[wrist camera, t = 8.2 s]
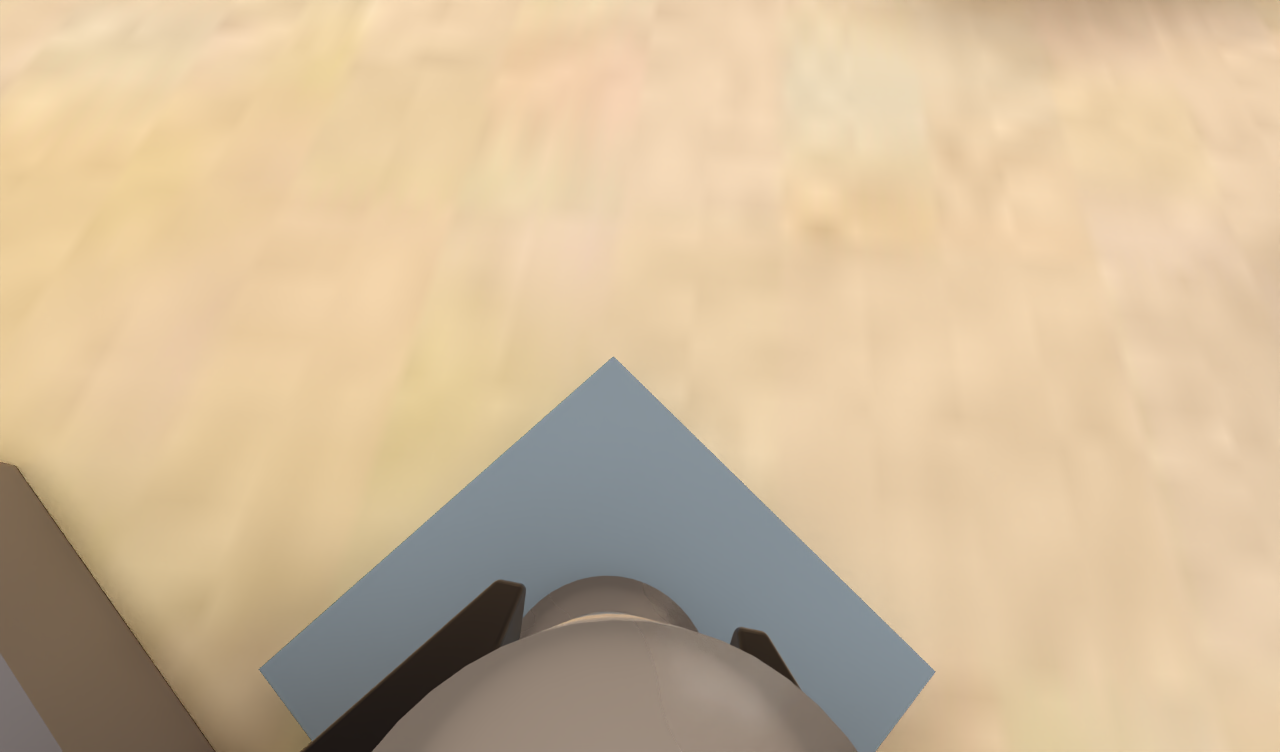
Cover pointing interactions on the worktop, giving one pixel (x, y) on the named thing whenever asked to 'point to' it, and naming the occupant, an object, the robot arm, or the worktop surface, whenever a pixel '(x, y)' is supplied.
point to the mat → (610, 564)
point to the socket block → (71, 650)
